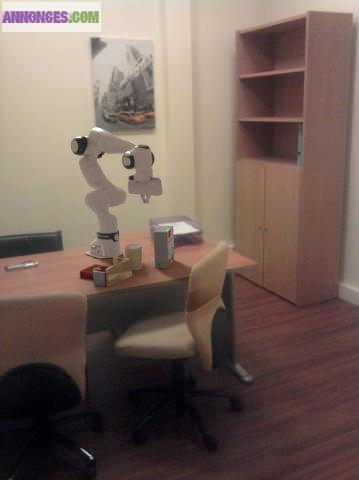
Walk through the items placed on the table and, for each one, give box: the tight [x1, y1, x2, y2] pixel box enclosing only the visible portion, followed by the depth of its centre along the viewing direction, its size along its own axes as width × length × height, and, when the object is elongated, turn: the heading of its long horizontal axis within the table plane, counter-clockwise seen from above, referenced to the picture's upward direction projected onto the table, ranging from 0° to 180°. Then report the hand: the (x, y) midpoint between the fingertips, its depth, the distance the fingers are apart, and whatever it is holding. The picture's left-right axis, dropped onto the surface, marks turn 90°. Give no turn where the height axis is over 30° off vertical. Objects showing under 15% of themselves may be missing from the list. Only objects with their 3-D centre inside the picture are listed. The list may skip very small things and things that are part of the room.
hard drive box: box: [153, 224, 175, 269], centre depth 250 cm, size 16×8×20 cm, turn 168°
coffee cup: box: [124, 243, 143, 271], centre depth 246 cm, size 9×9×12 cm
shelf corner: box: [106, 256, 133, 288], centre depth 230 cm, size 10×18×9 cm, turn 148°
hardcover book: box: [79, 263, 109, 281], centre depth 236 cm, size 12×21×4 cm, turn 58°
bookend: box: [93, 271, 108, 288], centre depth 223 cm, size 7×2×7 cm, turn 58°
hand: (145, 203), depth 243 cm, fingers closed
